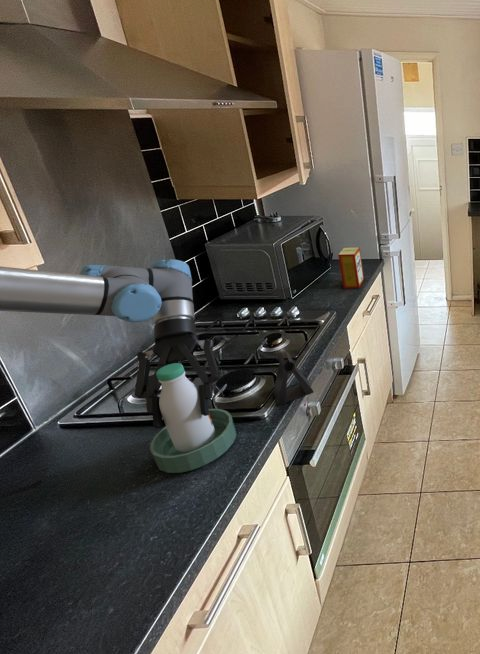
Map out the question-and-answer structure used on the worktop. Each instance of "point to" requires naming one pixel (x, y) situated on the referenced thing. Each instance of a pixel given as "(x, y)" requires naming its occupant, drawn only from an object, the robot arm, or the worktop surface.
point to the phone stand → (280, 389)
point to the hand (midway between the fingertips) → (182, 420)
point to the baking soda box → (351, 267)
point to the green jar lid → (187, 461)
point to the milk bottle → (183, 410)
